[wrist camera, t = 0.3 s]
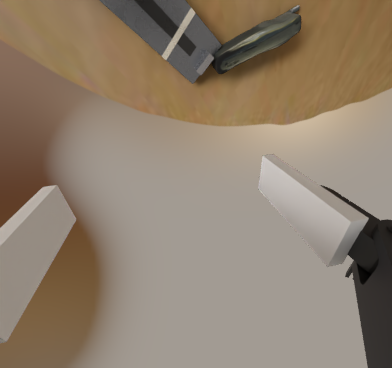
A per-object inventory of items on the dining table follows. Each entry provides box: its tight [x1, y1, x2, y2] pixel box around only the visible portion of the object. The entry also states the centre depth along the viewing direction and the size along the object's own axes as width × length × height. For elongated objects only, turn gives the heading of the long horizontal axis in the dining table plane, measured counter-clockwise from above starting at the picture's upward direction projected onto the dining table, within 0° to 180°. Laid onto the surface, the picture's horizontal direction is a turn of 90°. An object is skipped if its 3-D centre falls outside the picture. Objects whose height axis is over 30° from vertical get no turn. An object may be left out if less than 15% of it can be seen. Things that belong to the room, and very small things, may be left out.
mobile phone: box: [212, 5, 301, 74], centre depth 28 cm, size 5×3×15 cm
